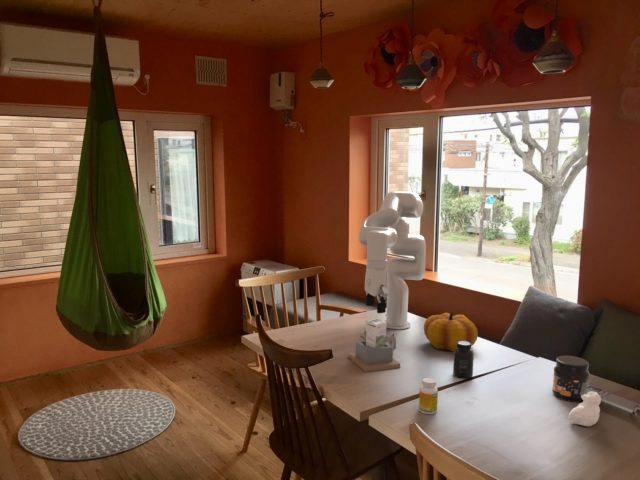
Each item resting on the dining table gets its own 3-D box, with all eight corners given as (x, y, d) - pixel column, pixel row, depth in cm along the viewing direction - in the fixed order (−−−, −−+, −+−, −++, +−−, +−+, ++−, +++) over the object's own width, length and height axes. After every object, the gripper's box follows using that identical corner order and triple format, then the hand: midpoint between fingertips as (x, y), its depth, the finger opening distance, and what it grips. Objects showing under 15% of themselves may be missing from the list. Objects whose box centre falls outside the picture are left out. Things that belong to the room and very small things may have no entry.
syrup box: (373, 354, 211) (375, 317, 209) (385, 358, 206) (386, 321, 204) (363, 357, 207) (364, 320, 205) (375, 362, 203) (376, 324, 201)
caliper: (396, 349, 222) (396, 334, 221) (394, 350, 221) (394, 335, 221) (362, 336, 238) (362, 322, 237) (360, 336, 237) (360, 322, 236)
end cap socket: (348, 356, 213) (348, 339, 212) (381, 353, 217) (382, 335, 216) (365, 371, 198) (365, 353, 197) (400, 367, 202) (400, 349, 201)
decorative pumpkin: (487, 349, 224) (489, 313, 221) (449, 359, 211) (451, 321, 209) (449, 335, 240) (451, 302, 238) (412, 344, 228) (413, 309, 226)
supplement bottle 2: (476, 375, 196) (478, 342, 194) (466, 380, 191) (468, 347, 189) (458, 370, 200) (460, 338, 199) (449, 375, 195) (450, 342, 194)
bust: (572, 436, 158) (597, 416, 151) (555, 412, 162) (579, 392, 155) (597, 426, 164) (622, 406, 157) (579, 403, 169) (604, 383, 161)
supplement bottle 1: (433, 416, 164) (434, 385, 163) (416, 411, 167) (417, 381, 165) (439, 409, 169) (440, 379, 167) (422, 405, 171) (424, 375, 170)
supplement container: (544, 391, 183) (547, 357, 181) (568, 387, 187) (571, 353, 185) (570, 405, 173) (573, 368, 171) (594, 399, 177) (598, 364, 175)
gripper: (358, 260, 209) (357, 303, 212) (377, 269, 193) (376, 316, 196) (376, 258, 211) (375, 302, 214) (396, 268, 195) (395, 314, 198)
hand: (375, 309), depth 205 cm, fingers open, 9 cm apart
